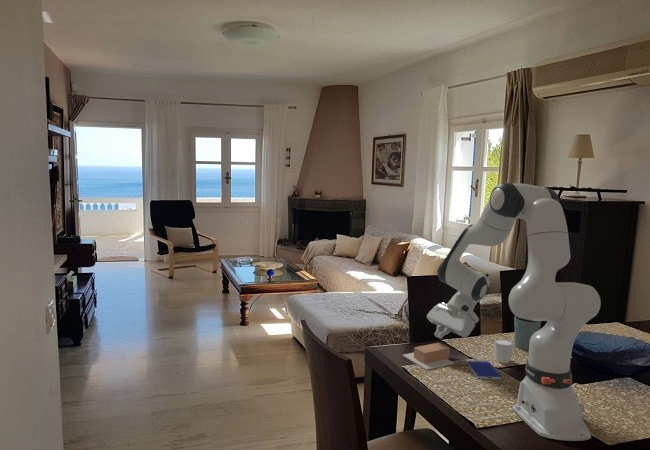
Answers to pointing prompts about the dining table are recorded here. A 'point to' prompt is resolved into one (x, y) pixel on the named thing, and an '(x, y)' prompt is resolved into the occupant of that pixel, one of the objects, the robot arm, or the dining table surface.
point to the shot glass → (503, 350)
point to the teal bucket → (524, 332)
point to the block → (431, 352)
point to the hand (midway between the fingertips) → (437, 336)
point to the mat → (428, 365)
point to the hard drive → (484, 370)
